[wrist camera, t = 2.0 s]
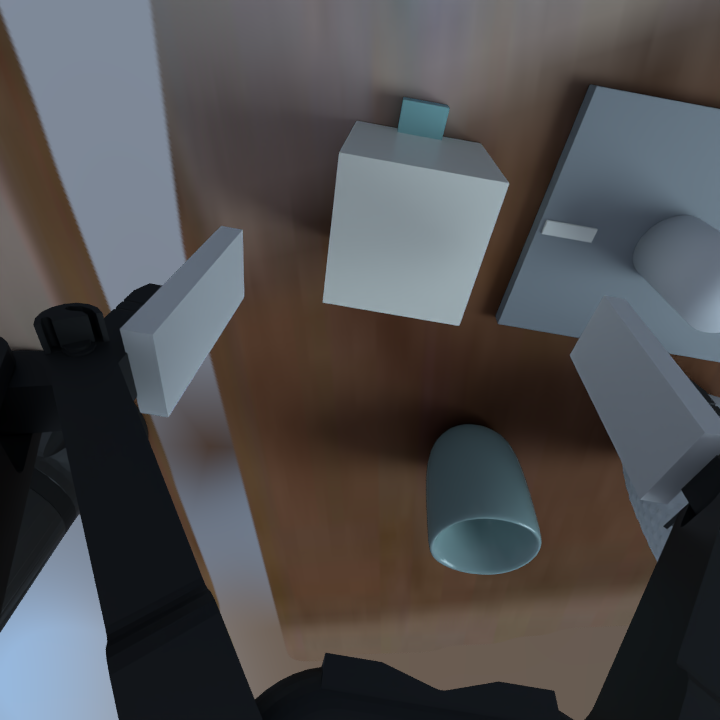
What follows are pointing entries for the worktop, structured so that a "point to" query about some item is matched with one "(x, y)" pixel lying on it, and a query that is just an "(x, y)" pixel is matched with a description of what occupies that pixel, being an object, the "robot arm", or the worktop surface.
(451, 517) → the cup
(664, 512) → the mug
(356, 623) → the worktop surface
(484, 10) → the worktop surface
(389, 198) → the grey cube
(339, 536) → the worktop surface
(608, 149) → the post plate
